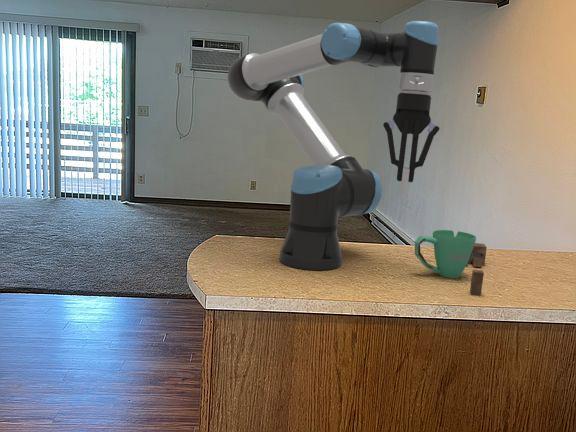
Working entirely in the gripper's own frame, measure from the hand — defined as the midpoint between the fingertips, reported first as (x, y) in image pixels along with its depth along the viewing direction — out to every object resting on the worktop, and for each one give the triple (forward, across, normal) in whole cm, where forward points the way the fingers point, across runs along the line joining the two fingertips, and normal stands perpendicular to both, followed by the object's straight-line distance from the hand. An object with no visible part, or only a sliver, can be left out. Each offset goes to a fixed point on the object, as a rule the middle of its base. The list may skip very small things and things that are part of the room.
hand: (403, 195), depth 133 cm
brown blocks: (+18, +21, -2) cm, 27 cm away
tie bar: (+18, +21, +14) cm, 31 cm away
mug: (+18, +11, -1) cm, 21 cm away
